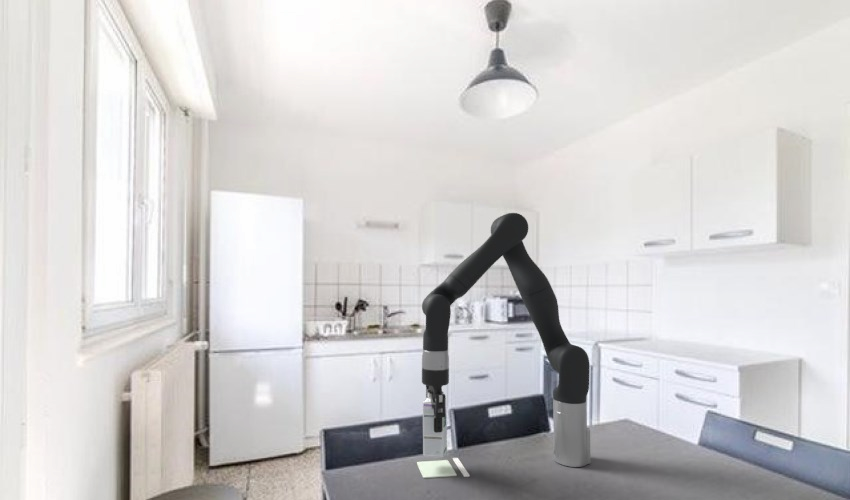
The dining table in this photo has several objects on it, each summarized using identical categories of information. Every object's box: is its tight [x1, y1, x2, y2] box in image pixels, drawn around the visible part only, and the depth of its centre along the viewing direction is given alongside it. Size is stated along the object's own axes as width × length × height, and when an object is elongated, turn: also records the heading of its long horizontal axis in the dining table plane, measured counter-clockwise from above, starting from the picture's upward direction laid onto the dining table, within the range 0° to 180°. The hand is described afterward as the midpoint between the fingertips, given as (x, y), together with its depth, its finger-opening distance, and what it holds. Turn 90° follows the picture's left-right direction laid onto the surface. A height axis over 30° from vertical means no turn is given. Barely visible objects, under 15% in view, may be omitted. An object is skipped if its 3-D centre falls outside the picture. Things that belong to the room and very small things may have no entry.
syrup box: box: [422, 397, 448, 459], centre depth 120 cm, size 6×6×14 cm
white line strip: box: [452, 457, 470, 478], centre depth 121 cm, size 2×12×1 cm, turn 11°
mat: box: [416, 459, 457, 479], centre depth 119 cm, size 9×10×1 cm
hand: (434, 427), depth 120 cm, fingers closed on syrup box, 7 cm apart
